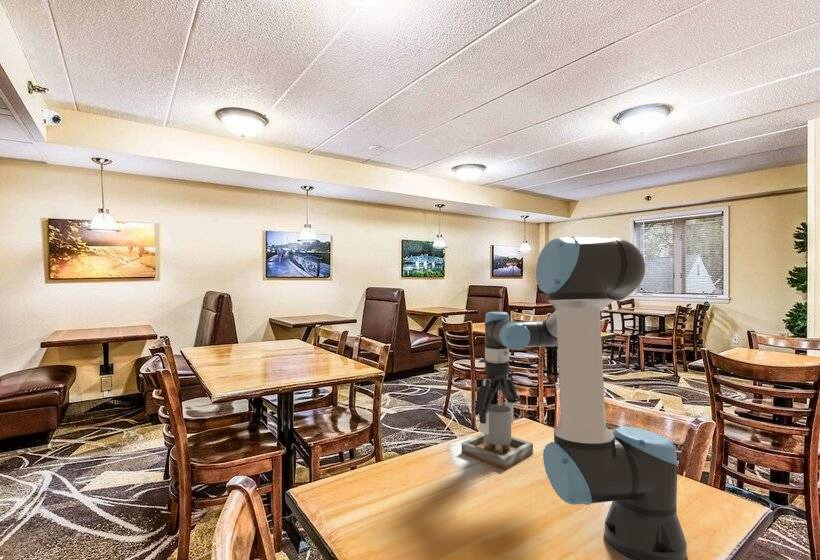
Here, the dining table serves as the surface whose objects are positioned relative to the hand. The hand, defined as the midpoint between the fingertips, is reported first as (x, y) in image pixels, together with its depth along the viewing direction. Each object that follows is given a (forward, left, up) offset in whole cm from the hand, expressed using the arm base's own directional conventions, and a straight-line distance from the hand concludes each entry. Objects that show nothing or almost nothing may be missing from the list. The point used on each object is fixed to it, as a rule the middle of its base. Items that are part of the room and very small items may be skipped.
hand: (497, 427), depth 132 cm
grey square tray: (0, 0, -8) cm, 8 cm away
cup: (0, 0, -4) cm, 4 cm away
